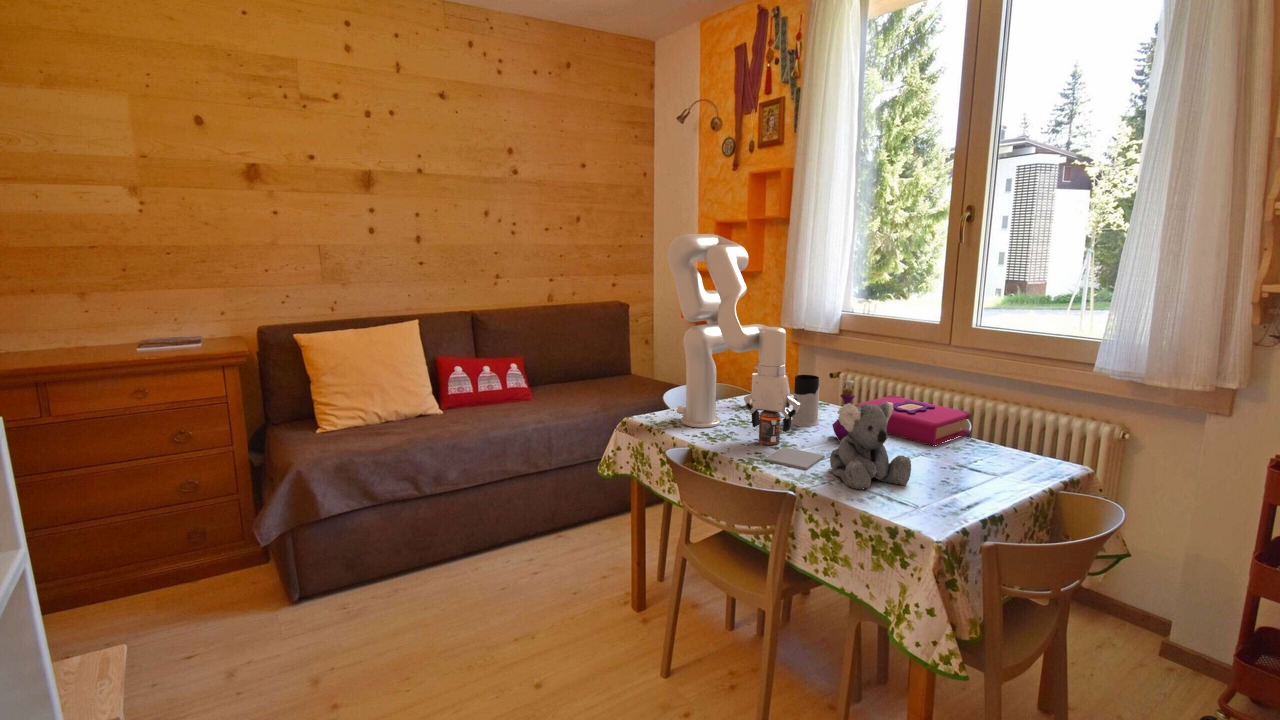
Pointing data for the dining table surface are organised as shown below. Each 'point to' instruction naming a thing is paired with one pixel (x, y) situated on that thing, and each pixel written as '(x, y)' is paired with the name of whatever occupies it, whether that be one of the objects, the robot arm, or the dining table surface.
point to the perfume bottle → (847, 398)
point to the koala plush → (867, 448)
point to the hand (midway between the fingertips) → (770, 428)
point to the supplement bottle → (769, 427)
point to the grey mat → (795, 458)
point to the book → (923, 420)
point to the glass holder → (806, 400)
